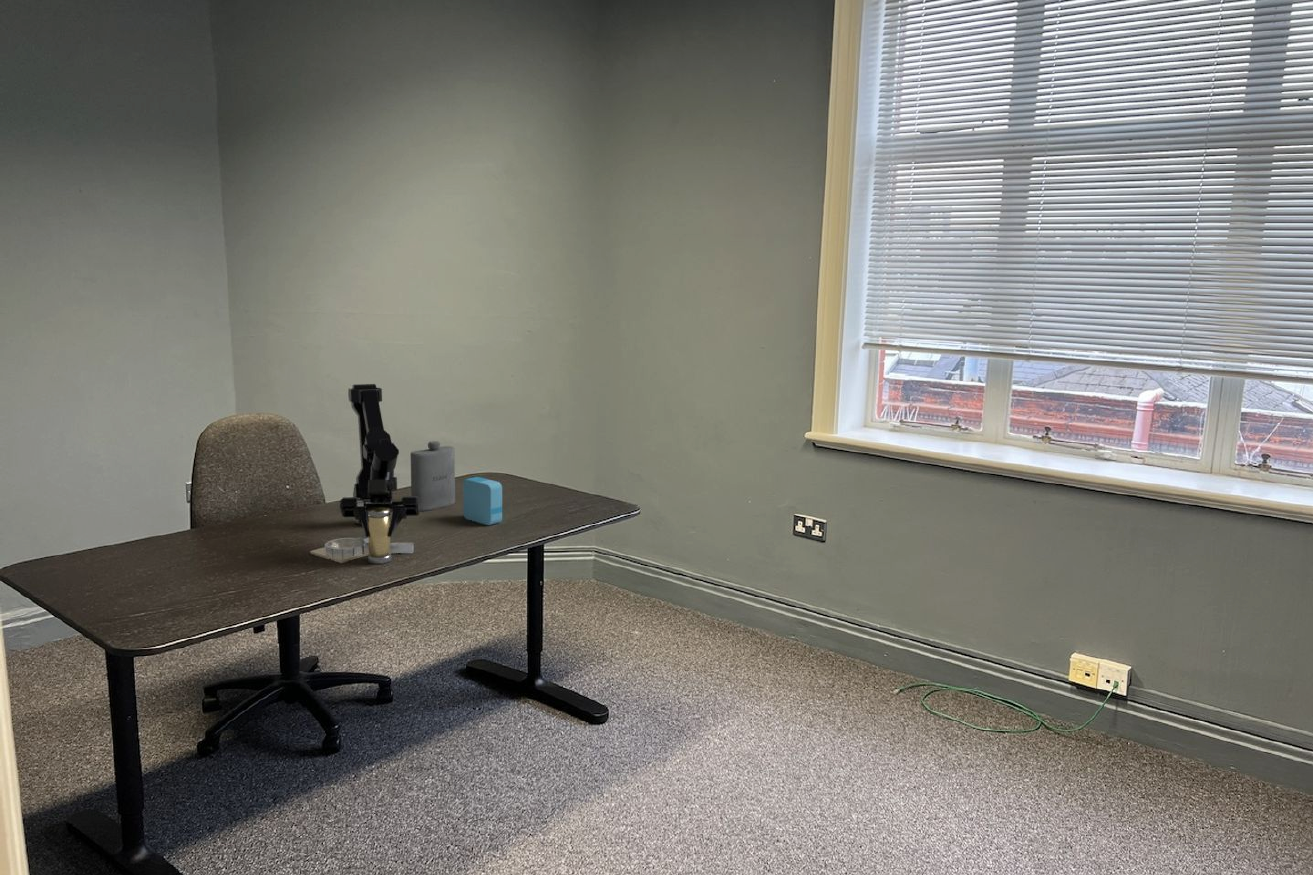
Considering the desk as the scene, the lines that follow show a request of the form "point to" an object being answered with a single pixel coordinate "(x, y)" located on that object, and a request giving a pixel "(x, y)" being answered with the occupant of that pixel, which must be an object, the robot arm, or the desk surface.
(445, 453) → the flask
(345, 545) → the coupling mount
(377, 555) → the glass jar
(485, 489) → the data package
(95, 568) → the desk surface
